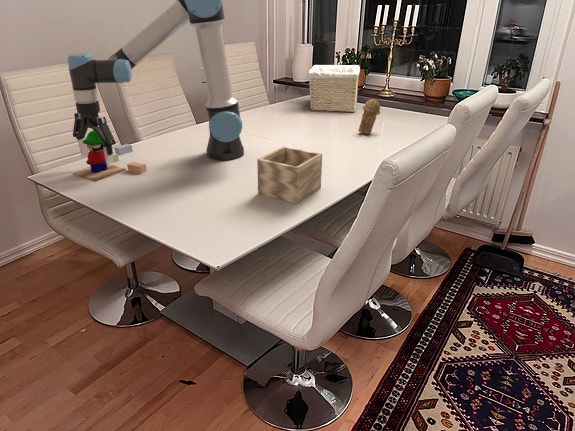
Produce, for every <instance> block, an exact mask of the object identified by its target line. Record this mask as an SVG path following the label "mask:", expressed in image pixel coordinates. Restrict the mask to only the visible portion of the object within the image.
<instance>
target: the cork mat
mask: <svg viewBox="0 0 575 431" xmlns="http://www.w3.org/2000/svg"><path fill="white" fill-rule="evenodd" d="M107 167H108V169H107V170H103V171H101V172H98V173H92V172H91V167H90V166H87V167H85V168H82V169H79V170H75V171H74V172H72V174H73V175H75V176H78V177H81V178H83V179H88V180H91V181H94V182H99V181H101V180H104V179H106V178H109V177H112V176H115V175H117V174H120V173H122V172H125V171H127V170H126V169H127V168H125V167H121V166H117V165H115V164H114V165H113V164H107Z"/></svg>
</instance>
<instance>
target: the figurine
mask: <svg viewBox="0 0 575 431" xmlns="http://www.w3.org/2000/svg"><path fill="white" fill-rule="evenodd" d="M362 110H363V113H362V116H361V121H360V124H359V127H358V130H357V131H358V132H359V133H365V134H367V135H368V134H371V133H372V132H373V127H374V125H375V122H376V120H377V116H378V115H380V114H381V111H380V110H381V105H380V102H379V101H378V100H376V99H374V98H373V99H369V100H367V101H366V103H365V104H364V105H363V106H362Z"/></svg>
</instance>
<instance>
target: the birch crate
mask: <svg viewBox="0 0 575 431" xmlns="http://www.w3.org/2000/svg"><path fill="white" fill-rule="evenodd" d="M256 161H257V162H256V163H257V164H256V165H257V166H256V167H257V194H258V195H262V196H266V197H269V198H274V199H277V200H279V201H284V202H287V203H292V204H295V205H296V204H299V203H300V202H302V201H304V200H305V199H306V198H308V197H309V196H310V195H312V194H314V193H315V192H316V191H318V190H320V189H321V187H322V174H323V171H322V170H323V169H322V168H323V167H322V166H323V154H322V153H319V152H314V151H310V150H303V149H299V148H294V147H288V146H282V147H280V148H277V149H276V150H274V151H272V152H269V153H268V154H266V155H265V154H264V156H261V157H260V158H258V159H256Z"/></svg>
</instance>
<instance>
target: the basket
mask: <svg viewBox="0 0 575 431" xmlns="http://www.w3.org/2000/svg"><path fill="white" fill-rule="evenodd" d="M360 71H361V67H360V65H359V64H358V65H357V64H352V65H349V64H348V65H346V64H344V65H343V64H336V65H335V64H315V65H313V66H312V68H310V69H309V71H308V82H309V100H310V101H309V102H310V103H309V104H310V110H311V111H312V110H316V111H319V112H323V111H325V110H326V111H325V112H338V113H339V112H347V113H350V112H352V113H355V112H356V108H357V98H358V86H359V85H358V84H359V76H360V73H361V72H360Z"/></svg>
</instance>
